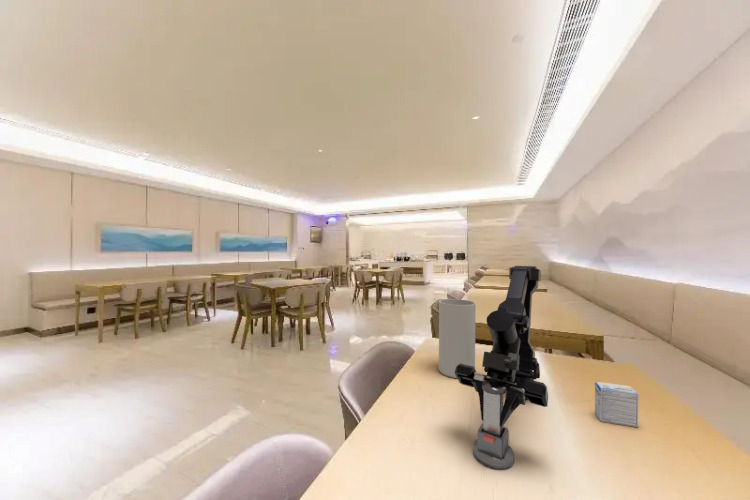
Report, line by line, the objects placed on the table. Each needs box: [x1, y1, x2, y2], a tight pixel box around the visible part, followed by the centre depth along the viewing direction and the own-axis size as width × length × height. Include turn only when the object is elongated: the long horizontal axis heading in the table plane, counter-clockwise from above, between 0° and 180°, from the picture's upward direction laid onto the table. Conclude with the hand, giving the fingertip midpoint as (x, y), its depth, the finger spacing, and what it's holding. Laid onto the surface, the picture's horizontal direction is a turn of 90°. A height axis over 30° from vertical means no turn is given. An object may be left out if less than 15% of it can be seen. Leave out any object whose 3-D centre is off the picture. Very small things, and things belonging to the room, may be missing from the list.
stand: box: [472, 422, 515, 471], centre depth 63 cm, size 8×8×6 cm
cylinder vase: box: [438, 298, 477, 379], centre depth 107 cm, size 12×12×25 cm
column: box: [482, 381, 506, 438], centre depth 63 cm, size 5×5×13 cm
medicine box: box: [594, 381, 639, 428], centre depth 77 cm, size 8×4×9 cm, turn 71°
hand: (491, 423), depth 62 cm, fingers closed on column, 3 cm apart
